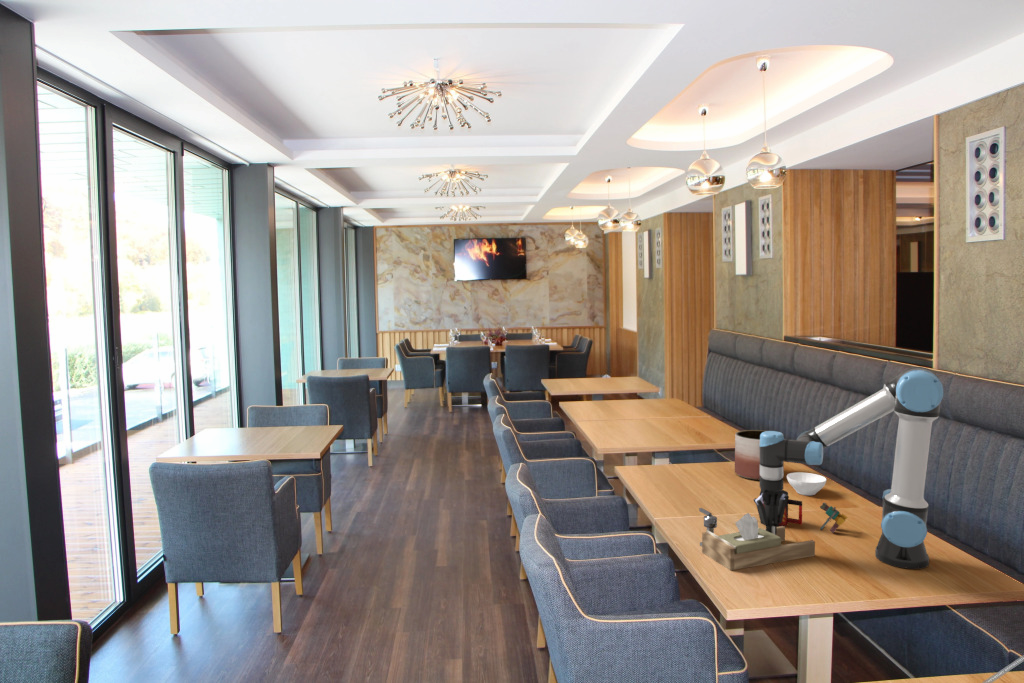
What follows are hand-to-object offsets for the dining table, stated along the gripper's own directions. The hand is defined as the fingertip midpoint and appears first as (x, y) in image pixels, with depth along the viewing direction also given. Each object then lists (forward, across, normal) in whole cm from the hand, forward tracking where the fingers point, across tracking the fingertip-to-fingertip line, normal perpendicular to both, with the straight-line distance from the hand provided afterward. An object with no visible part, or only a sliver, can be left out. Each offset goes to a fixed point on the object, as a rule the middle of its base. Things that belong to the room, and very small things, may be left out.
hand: (771, 543), depth 223 cm
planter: (+6, -56, -77) cm, 96 cm away
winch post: (+2, +17, -12) cm, 21 cm away
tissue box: (+3, +11, +3) cm, 12 cm away
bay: (+2, +5, +1) cm, 6 cm away
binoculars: (+4, -34, -7) cm, 35 cm away
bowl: (+5, -58, -47) cm, 75 cm away
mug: (+4, -22, -21) cm, 31 cm away
